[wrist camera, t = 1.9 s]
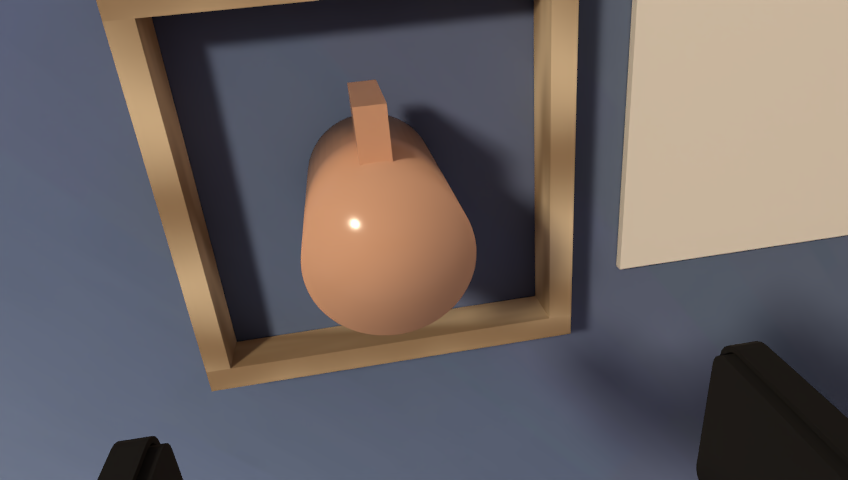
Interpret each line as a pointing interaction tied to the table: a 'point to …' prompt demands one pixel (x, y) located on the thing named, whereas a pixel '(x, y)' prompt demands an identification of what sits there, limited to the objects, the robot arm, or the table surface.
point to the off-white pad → (733, 127)
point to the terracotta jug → (382, 224)
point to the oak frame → (339, 346)
